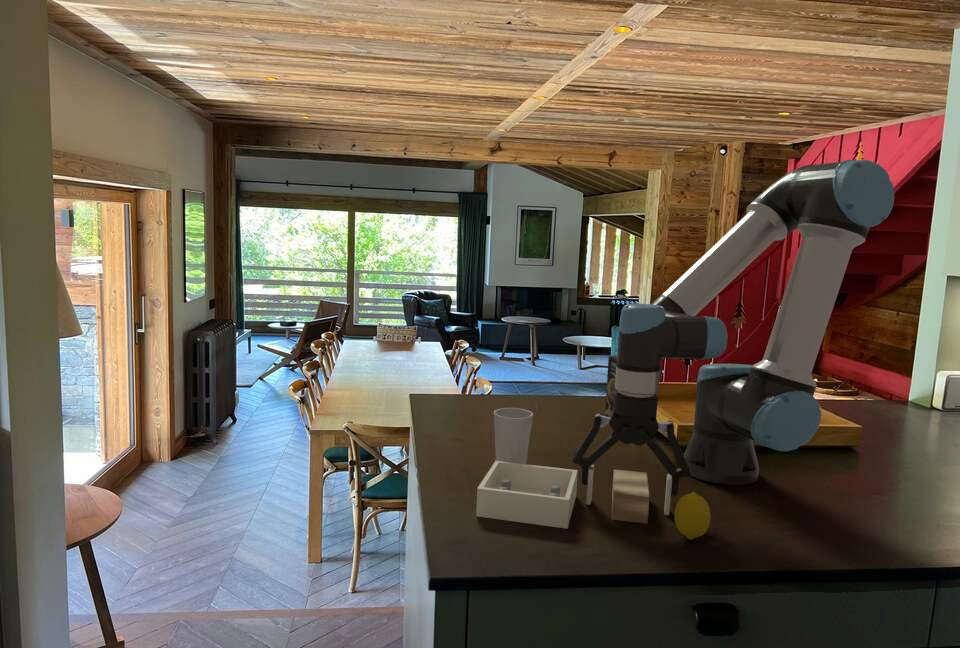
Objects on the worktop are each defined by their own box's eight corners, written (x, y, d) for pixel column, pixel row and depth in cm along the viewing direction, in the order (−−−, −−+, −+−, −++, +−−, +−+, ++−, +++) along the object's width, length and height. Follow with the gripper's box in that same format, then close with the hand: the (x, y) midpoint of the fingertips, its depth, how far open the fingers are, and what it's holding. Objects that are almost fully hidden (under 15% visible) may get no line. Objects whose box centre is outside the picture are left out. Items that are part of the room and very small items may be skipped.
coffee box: (603, 413, 185) (607, 355, 182) (624, 412, 187) (628, 355, 184) (620, 423, 176) (624, 362, 174) (642, 421, 178) (646, 361, 176)
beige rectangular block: (612, 494, 128) (613, 469, 128) (644, 498, 127) (646, 472, 127) (611, 520, 117) (613, 493, 116) (647, 524, 116) (649, 497, 115)
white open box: (576, 495, 126) (577, 470, 126) (567, 528, 112) (569, 500, 112) (494, 485, 130) (495, 460, 129) (476, 516, 116) (477, 488, 115)
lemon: (680, 528, 114) (684, 483, 113) (713, 539, 110) (717, 492, 109) (667, 539, 110) (670, 492, 108) (700, 550, 106) (704, 502, 105)
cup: (527, 478, 134) (530, 420, 133) (488, 474, 136) (490, 416, 134) (532, 465, 142) (535, 409, 140) (495, 461, 144) (497, 406, 142)
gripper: (708, 394, 120) (698, 508, 123) (567, 380, 125) (560, 490, 128) (713, 404, 112) (701, 525, 115) (562, 389, 118) (555, 505, 121)
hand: (627, 507), depth 122 cm, fingers open, 13 cm apart
